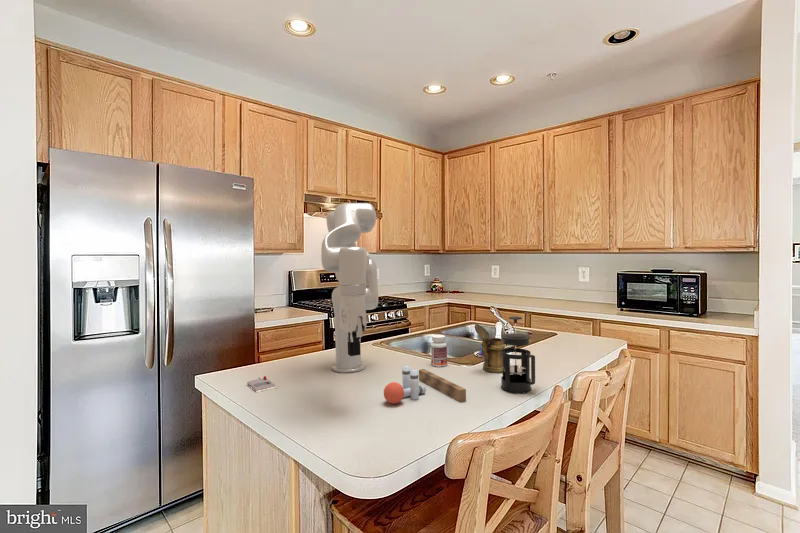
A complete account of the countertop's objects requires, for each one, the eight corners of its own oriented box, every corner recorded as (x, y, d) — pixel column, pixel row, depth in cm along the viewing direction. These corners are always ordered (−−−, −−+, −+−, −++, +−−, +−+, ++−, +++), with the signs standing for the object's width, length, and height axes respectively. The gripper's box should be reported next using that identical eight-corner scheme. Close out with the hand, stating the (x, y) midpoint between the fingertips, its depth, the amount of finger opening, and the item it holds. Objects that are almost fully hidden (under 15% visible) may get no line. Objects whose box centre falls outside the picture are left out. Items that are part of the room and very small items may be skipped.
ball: (401, 392, 123) (382, 398, 122) (399, 375, 121) (379, 381, 120) (408, 404, 118) (388, 410, 116) (405, 387, 116) (385, 393, 114)
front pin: (397, 388, 124) (421, 384, 128) (398, 396, 124) (422, 391, 128) (401, 391, 122) (425, 386, 125) (401, 399, 122) (426, 394, 125)
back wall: (419, 379, 140) (418, 369, 139) (424, 379, 140) (423, 369, 140) (460, 402, 118) (460, 390, 118) (466, 401, 119) (465, 389, 119)
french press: (493, 388, 130) (492, 316, 129) (510, 381, 136) (510, 313, 135) (524, 397, 121) (524, 321, 120) (542, 390, 127) (541, 317, 126)
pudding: (509, 356, 170) (509, 344, 169) (488, 361, 163) (488, 348, 163) (488, 350, 180) (488, 339, 179) (468, 355, 173) (467, 342, 173)
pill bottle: (450, 365, 157) (450, 336, 156) (437, 368, 153) (437, 338, 153) (440, 361, 162) (439, 333, 161) (428, 364, 158) (427, 335, 158)
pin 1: (401, 392, 127) (400, 366, 127) (408, 391, 128) (407, 364, 128) (405, 395, 125) (404, 368, 125) (412, 393, 126) (411, 366, 126)
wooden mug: (468, 370, 149) (467, 322, 149) (495, 364, 156) (494, 318, 156) (485, 376, 142) (484, 325, 141) (512, 370, 149) (512, 321, 148)
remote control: (258, 396, 129) (257, 386, 129) (243, 383, 141) (243, 375, 141) (278, 391, 133) (278, 382, 133) (262, 379, 145) (262, 371, 145)
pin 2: (409, 398, 123) (408, 370, 122) (416, 396, 124) (415, 368, 123) (413, 400, 120) (412, 372, 120) (420, 399, 122) (419, 370, 121)
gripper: (331, 289, 120) (333, 351, 120) (349, 293, 106) (351, 363, 107) (355, 288, 123) (356, 348, 124) (375, 292, 110) (377, 359, 111)
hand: (354, 354), depth 115 cm, fingers closed
